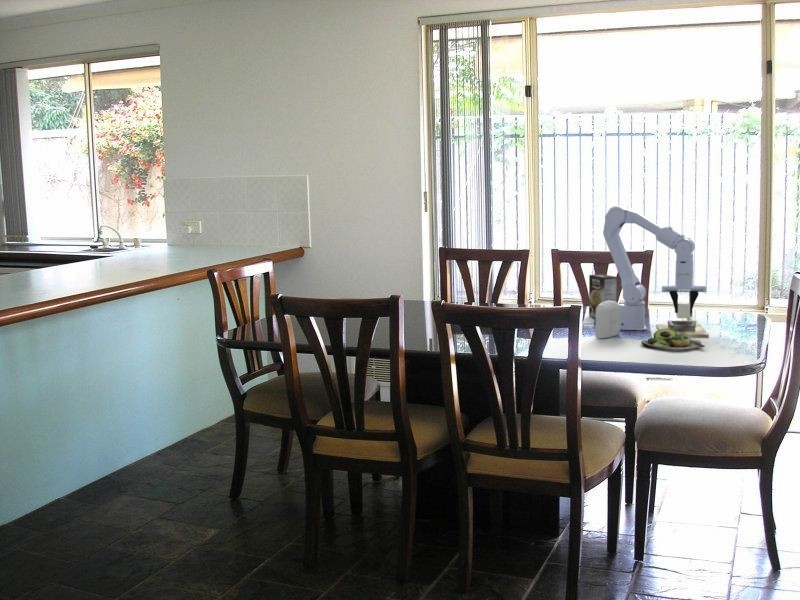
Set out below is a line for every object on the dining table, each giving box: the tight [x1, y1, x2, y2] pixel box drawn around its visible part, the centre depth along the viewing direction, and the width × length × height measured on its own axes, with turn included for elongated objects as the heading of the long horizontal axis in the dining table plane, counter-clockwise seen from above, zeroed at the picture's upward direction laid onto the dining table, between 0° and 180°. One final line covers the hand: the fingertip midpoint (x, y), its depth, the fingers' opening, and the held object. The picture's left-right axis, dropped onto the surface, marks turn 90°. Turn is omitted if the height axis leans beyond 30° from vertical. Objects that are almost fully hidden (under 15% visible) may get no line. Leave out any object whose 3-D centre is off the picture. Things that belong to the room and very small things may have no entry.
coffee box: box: [588, 273, 618, 319], centre depth 332 cm, size 9×6×16 cm
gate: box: [687, 310, 697, 326], centre depth 311 cm, size 1×14×4 cm, turn 169°
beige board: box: [655, 318, 710, 338], centre depth 307 cm, size 15×30×3 cm, turn 170°
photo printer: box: [594, 300, 620, 340], centre depth 296 cm, size 10×4×12 cm, turn 134°
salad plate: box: [641, 329, 706, 352], centre depth 279 cm, size 19×18×5 cm
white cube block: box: [675, 301, 690, 319], centre depth 302 cm, size 4×4×5 cm
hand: (683, 312), depth 301 cm, fingers closed on white cube block, 4 cm apart
